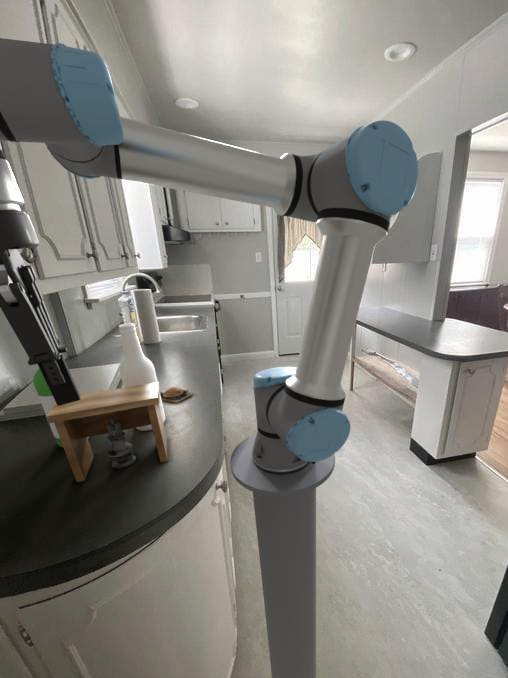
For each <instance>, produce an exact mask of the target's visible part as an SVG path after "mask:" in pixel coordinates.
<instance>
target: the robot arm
mask: <svg viewBox="0 0 508 678" xmlns="http://www.w3.org/2000/svg"><path fill="white" fill-rule="evenodd" d="M3 141H4V142H5V141H6V142H11V143H36V144H40V143H41V144H45V147H46V149H47V150H48V151H49V153H50V155H51V156H52V158H53V159H54V160H55V161H56V162H57V163H58V164H60V166H61V167H62V168H63V169H65V170H66V171H68V172H69V173H71V174H72V175H75V176H76V177H78V178H81V179H86V180H95V179H99V178H101V177H105V178H109V179H115V180H123V181H127V182H128V181H129V182H134V183H140V184H144V185H151V186H155V187H161V188H166V189H171V190H176V191H182V192H187V193H193V194H198V195H204V196H210V197H214V198H220V199H225V200H229V201H236V202H241V203H245V204H246V203H247V204H251V205H255V206H256V205H258V206H260V207H261V206H262V207H268V208H272V209H273V211H274V212H275V214H277V215H278V216H281V217H286V218H291V219H292V218H293V219H297V220H302V221H306V222H308V223H309V222H310V223H314V224H316V227H317V229H318V230H319V232H320V233H321V235H322V240H321V245H320V251H319V256H318V260H317V265H316V269H315V275H314V280H313V285H312V289H311V296H310V301H309V305H308V310H307V316H306V320H305V326H304V330H303V334H302V339H301V344H300V349H299V355H298V359H297V366H276V367H272V368H266V369H263V370H260V371H258V372H257V373H255V375H254V376H253V386H252V389H253V395H254V406H255V416H256V417H255V418H256V428H257V432H256V433H257V435H256V438H255V442H254V445H253V450H252V456H253V462H254V464H255V465H256V466H257V467H258V468H259V469H261V470H262V471H265V472H267V473H271V474H290V473H294V472H297V471H300V470H302V469H304V468H305V467H306V466H307V465H308V464H309V463H310V462H311V463H312V464H313V465H314V464H315V463H316V462H317V461H321V460H324V459H327V458H329V457H330V456H332V455H333V454H334V453H335V454H336V453H337V452H339V451H340V450H341V449H342V448H343V447H344V445H345V443H346V442H347V441H348V439H349V436H350V433H351V421H350V419H349V418H348V415H347V413H346V412H344V410H343V409H344V406H345V405H344V404H345V401H346V397H347V392H346V390H345V389H344V387H343V386H342V378H343V375H344V371H345V367H346V363H347V360H348V355H349V351H350V347H351V342H352V339H353V335H354V332H355V331H354V330H355V327H356V322H357V318H358V314H359V310H360V306H361V303H362V298H363V294H364V290H365V286H366V284H367V283H366V282H367V279H368V275H369V270H370V266H371V262H372V259H373V254H374V250H375V248H376V246H377V245H378V244H379V243H380V242H382V241H384V240H385V239H386V238H387V237H388V233H389V230H390V226H391V223H392V218H393V216H395V215H397V214H399V213H400V212H401V211H402V210H403V209H404V208H405V207H407V206H408V205H409V204H410V202H411V201H412V199H413V197H414V194H415V192H416V189H417V186H418V181H419V180H418V179H419V162H418V157H417V153H416V151H415V150H414V147H413V145H414V144H413V141H412V140H411V138H410V136H409V135H408V133H407V132H406V131H405V130H404V129H403V128H402V127H401V126H400V125H398V124H396V123H395V122H392V121H389V120H382V119H381V120H376V121H373V122H371V123H369V124H367V125H362V126H359V127H357V128H356V129H354V131H352V132H351V134H350V135H349V136H347V137H345V138H343V139H341V140H340V141H338V142H336V143H334V144H333V145H331V146H329V147H327V148H326V149H324V150H322V151H321V152H317V153H314V154H309V155H307V154H306V155H299V154H295V153H290V152H285V153H284V154H282V155H281V156H280V157H277V156H273V155H269V154H265V153H261V152H258V151H254V150H250V149H246V148H243V147H239V146H234V145H231V144H227V143H223V142H219V141H215V140H211V139H208V138H204V137H200V136H197V135H194V134H189V133H185V132H182V131H178V130H173V129H169V128H166V127H162V126H158V125H155V124H151V123H147V122H143V121H139V120H135V119H131V118H127V117H124V116H121V114H120V110H119V105H118V101H117V97H116V93H115V88H114V84H113V81H112V77H111V74H110V70H109V67H108V65H107V63H106V62H105V60H104V59H103V58H102V56H100V55H99V54H98V53H96V52H94V51H91V50H86V49H81V48H76V47H73V46H67V44H65V43H61V42H55V43H54V44H53V43H44V42H37V41H29V40H19V39H12V38H4V37H3V38H2V37H0V310H1V311H2V313H3V315H4V317H5V318H6V320H7V322H8V324H9V325H10V327H11V329H12V330H13V332H14V334H15V336H16V337H17V339H18V341H19V343H20V345H21V346H22V348H23V349H24V352H25V353H26V355H27V357H28V360H27V364H28V365H29V366H33V365H34V366H35V365H37V366H38V369H39V368H40V370H41V372H42V374H43V377H44V379H45V381H46V383H47V385H48V387H49V389H50V391H51V393H52V395H53V397H54V399H55V401H56V404H57V406H60V405H63V404H67V403H71V402H75V401H79V400H80V391H79V389H78V387H77V385H76V382H75V380H74V378H73V375H72V374H71V370H70V368H69V367H68V364H67V362H66V360H65V359H66V358H65V357H64V354H63V353H68V348H67V346H61V340H60V339H59V337H58V335H57V332H56V330H55V326H54V324H53V322H52V320H51V319H52V318H51V316H50V313H49V311H48V309H47V306H46V304H45V301H44V296H43V293H42V292H41V290H40V287H39V284H38V282H37V278H38V277H37V274H36V272H35V269H34V267H33V266H32V265H31V264H30V265H29V264H28V265H26V263H25V261H24V259H23V256H22V255H21V253H20V251H19V250H22V249H32V248H37V247H39V246H40V241H39V237H38V236H37V232H36V229H35V227H34V226H33V225H34V224H33V223H32V219H31V218H30V215H29V214H27V213H26V211H24V210H21V208H20V207H22V206H23V205H24V204H25V201H24V198H23V196H22V193H21V191H20V188H19V186H18V183H17V180H16V178H15V175H14V173H13V170H12V168H11V165H10V163H9V161H8V159H7V158H6V155H5V153H4V151H3V150H4V149H3V147H2V143H1V142H3Z"/></svg>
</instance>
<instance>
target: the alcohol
mask: <svg viewBox="0 0 508 678" xmlns="http://www.w3.org/2000/svg"><path fill="white" fill-rule="evenodd" d="M118 329H119V331H118V332H119V333H120V339H121V345H122V351H123V355H124V356H123V361H122V362H121V364H120V366H119V375H120V378H121V383H122V387H123V388H125V387H131V386H137V385H144V384H150V383H156V382H158V377H157V373H156V368H155V366H154V363H153V362H152V361H151V360H150V359H149V358H148V357H146V356H145V354H144V352H143V348H142V346H141V343H140V339H139V336H138V333H137V328H136V324H135V323H133V322H131V323H122V324H119V325H118ZM159 407H160V411H161V415H162V420H163V424H164V423H165V421H166V415H165V414H166V413H165V410H164V405H163V400H162V399H161V396H160V394H159ZM135 429H137V430H138V431H153V429H152V425H146V426H141V427H136V428H135Z"/></svg>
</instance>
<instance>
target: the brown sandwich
mask: <svg viewBox="0 0 508 678" xmlns="http://www.w3.org/2000/svg"><path fill="white" fill-rule="evenodd" d="M160 396H161V400H162V401H165V402H171V403H175V404H179V403H180V402H182V401H184V400H186V399H188V398H189V397H191V396H194V394H193V392H190V391H189V390H185V389H183V388H182V387H177V386H172V387H171V386H170V387H169V388H168V389H166V390H165V391H164V392H163V391H160Z"/></svg>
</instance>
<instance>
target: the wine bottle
mask: <svg viewBox="0 0 508 678" xmlns="http://www.w3.org/2000/svg"><path fill="white" fill-rule="evenodd" d="M32 380H33V381H32V382H33V385H34V386H33V387H34V388H35V391H36V393H37V397H38V398H39V402H40V404H41V407H42V409H43V412H44V415H45V417H46V416H47V414H48V413H49V412H50V410H51V409H52V408H53V406H54V405H55V404H56V401H55V399H54V397H53V395H52V393H51V391H50V389H49V387H48V385H47V383H46V381H45V379H44V377H43V374H42V372H41V370H40V368H39V367H38V369H37V370H36V371H35V373H34V375H33V379H32ZM48 425H49V427H50V430H51V432H52V435H53V438H54V439H55V442H56V445H57V446H58V447H60V448H63V449H64V447H63V445H62V442H61V439H60V437H59V434H58V432H57V429H56V426H55V424H54V423H49V424H48ZM87 438H88V439H89V438H90V437H87Z"/></svg>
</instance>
